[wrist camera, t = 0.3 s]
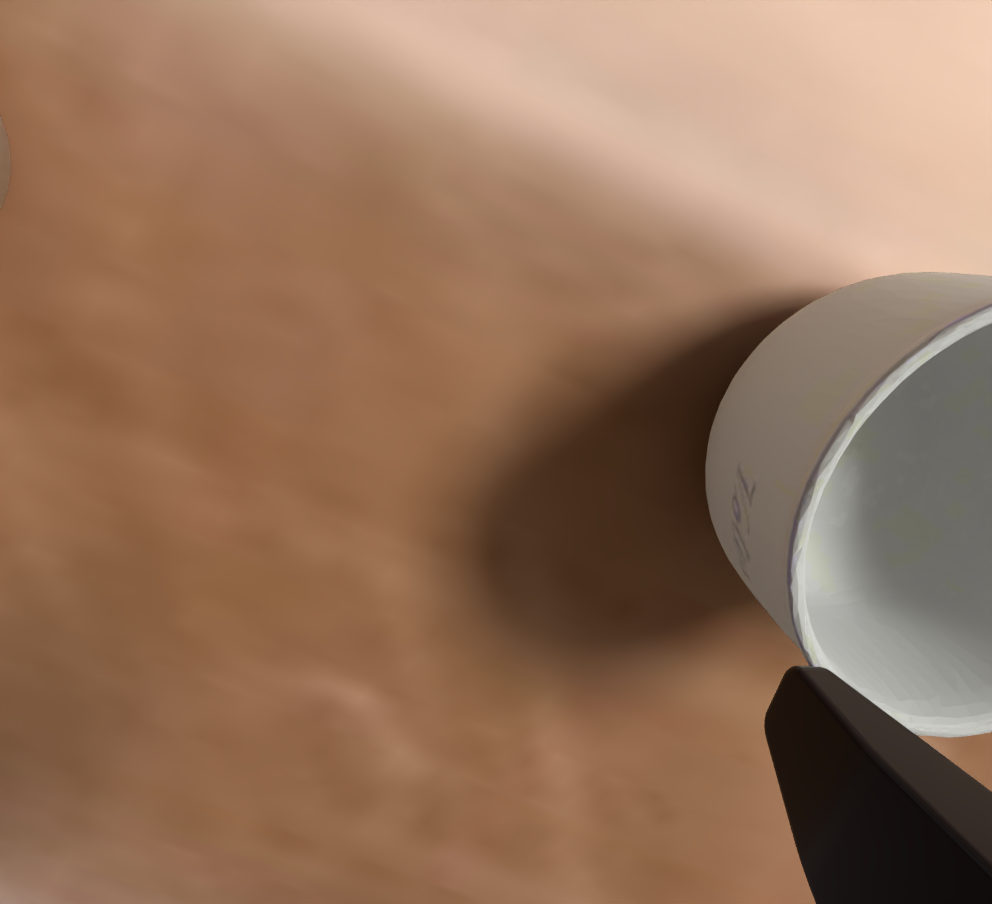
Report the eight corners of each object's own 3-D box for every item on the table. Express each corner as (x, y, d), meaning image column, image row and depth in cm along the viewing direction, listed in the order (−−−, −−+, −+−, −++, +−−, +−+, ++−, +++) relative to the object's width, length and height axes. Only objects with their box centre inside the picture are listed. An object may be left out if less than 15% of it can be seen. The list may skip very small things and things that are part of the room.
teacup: (596, 433, 23) (694, 574, 16) (880, 155, 21) (1147, 165, 13) (851, 668, 28) (1016, 859, 20) (1101, 462, 26) (1386, 592, 18)
